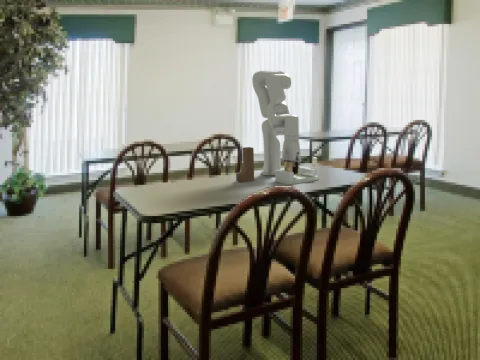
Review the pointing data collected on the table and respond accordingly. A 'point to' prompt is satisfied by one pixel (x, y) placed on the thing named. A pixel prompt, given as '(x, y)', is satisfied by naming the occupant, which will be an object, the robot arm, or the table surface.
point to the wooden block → (247, 166)
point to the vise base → (298, 179)
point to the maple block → (289, 166)
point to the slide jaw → (309, 169)
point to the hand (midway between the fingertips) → (291, 172)
